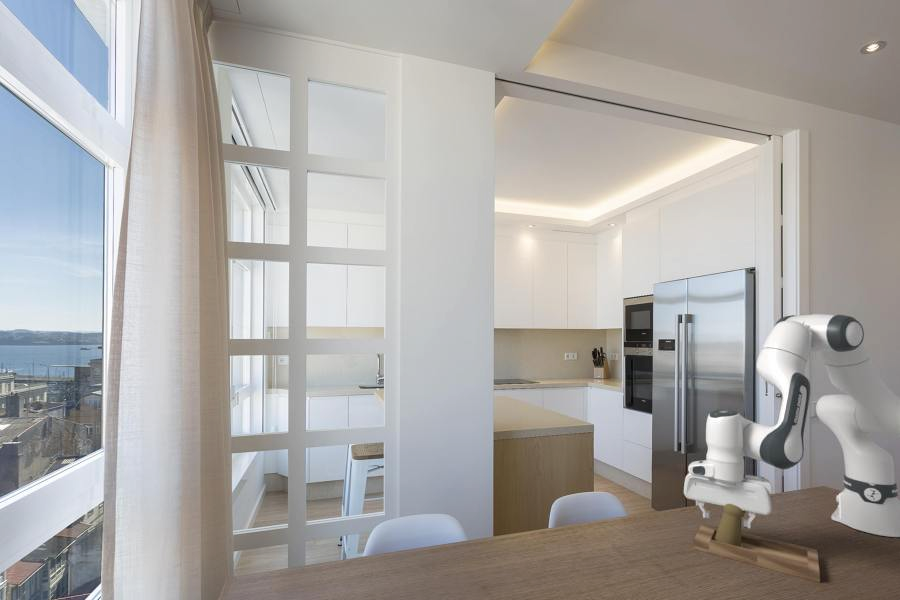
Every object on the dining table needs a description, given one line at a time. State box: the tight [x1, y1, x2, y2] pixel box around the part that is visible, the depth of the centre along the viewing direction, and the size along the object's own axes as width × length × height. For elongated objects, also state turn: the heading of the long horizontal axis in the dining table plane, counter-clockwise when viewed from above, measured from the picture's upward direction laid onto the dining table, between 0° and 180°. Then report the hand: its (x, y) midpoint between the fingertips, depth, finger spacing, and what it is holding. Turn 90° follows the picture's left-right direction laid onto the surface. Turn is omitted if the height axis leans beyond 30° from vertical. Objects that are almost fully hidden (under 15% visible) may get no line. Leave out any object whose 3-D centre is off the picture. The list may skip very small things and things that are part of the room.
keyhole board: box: [693, 522, 821, 583], centre depth 118 cm, size 14×26×2 cm, turn 53°
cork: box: [715, 504, 746, 547], centre depth 121 cm, size 6×6×11 cm
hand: (726, 522), depth 122 cm, fingers open, 8 cm apart
